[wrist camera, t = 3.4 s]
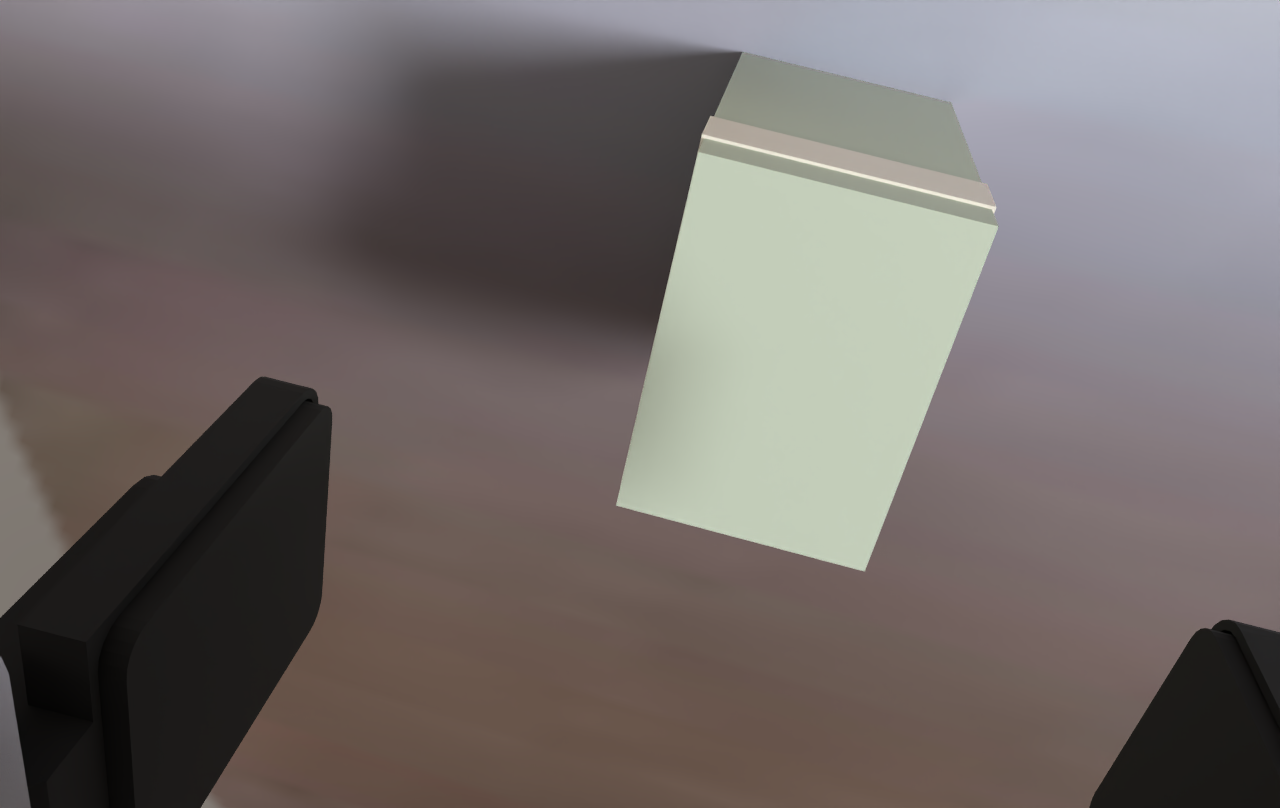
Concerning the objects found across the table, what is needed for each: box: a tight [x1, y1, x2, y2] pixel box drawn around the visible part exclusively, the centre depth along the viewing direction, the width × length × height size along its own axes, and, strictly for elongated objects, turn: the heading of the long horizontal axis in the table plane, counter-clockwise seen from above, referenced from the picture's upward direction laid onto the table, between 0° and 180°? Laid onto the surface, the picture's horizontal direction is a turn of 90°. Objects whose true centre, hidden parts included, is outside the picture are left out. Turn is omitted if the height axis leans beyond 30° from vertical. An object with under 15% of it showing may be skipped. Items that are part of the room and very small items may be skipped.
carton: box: [616, 52, 998, 571], centre depth 21 cm, size 5×7×8 cm
